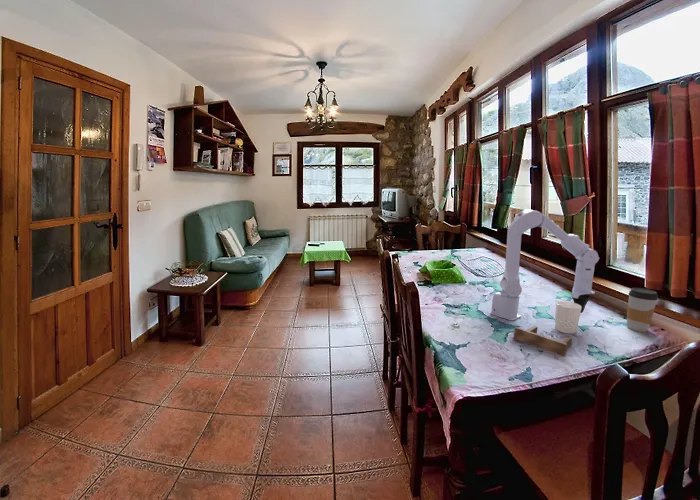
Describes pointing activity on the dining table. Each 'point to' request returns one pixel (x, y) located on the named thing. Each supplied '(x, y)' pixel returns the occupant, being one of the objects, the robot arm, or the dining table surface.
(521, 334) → the bar
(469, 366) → the dining table surface
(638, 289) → the coffee cup
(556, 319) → the white cup
